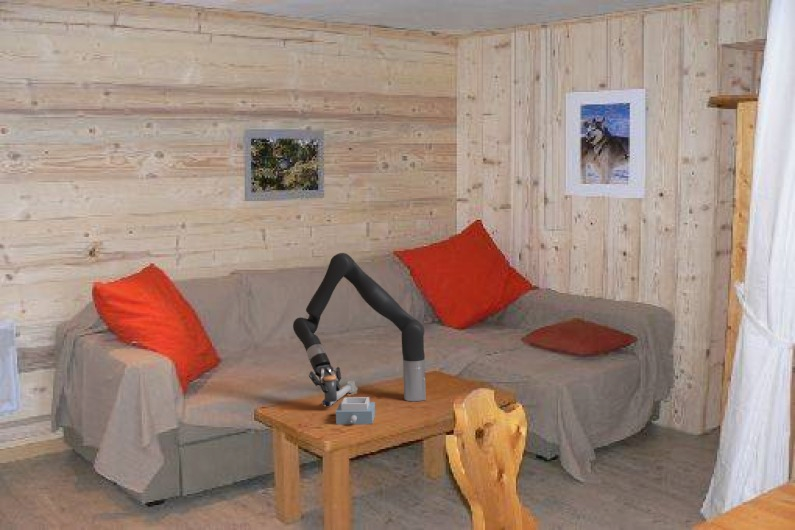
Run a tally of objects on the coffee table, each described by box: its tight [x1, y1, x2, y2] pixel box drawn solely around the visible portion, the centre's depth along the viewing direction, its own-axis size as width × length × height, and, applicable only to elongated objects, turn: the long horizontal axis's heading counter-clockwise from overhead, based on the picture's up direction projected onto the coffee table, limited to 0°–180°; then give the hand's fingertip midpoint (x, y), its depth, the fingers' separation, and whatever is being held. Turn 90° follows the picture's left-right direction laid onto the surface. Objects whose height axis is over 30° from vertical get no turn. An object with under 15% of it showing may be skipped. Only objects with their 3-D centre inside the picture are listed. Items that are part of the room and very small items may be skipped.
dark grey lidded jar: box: [323, 374, 338, 402], centre depth 366 cm, size 5×5×10 cm
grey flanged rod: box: [321, 380, 359, 407], centre depth 383 cm, size 5×7×25 cm
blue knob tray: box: [335, 396, 376, 425], centre depth 351 cm, size 14×17×8 cm
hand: (332, 391), depth 365 cm, fingers closed on dark grey lidded jar, 5 cm apart
